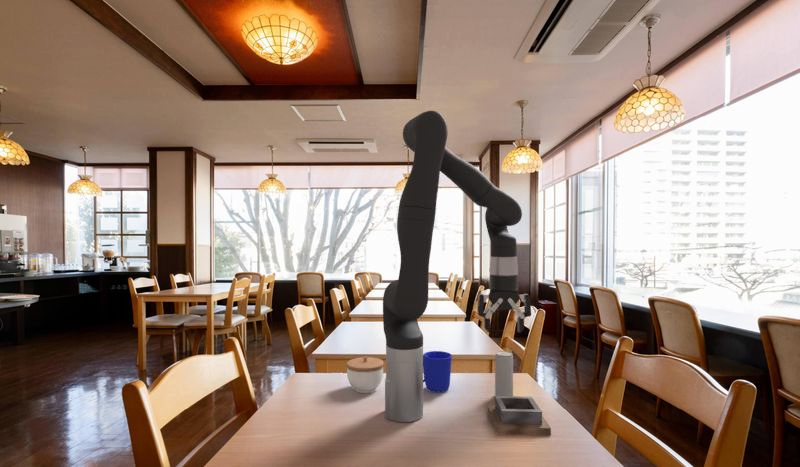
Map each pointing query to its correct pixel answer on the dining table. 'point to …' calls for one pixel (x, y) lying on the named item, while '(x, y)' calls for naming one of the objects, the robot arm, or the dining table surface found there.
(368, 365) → the lidded jar
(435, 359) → the mug
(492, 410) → the can holder
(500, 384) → the beverage can
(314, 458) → the dining table surface
